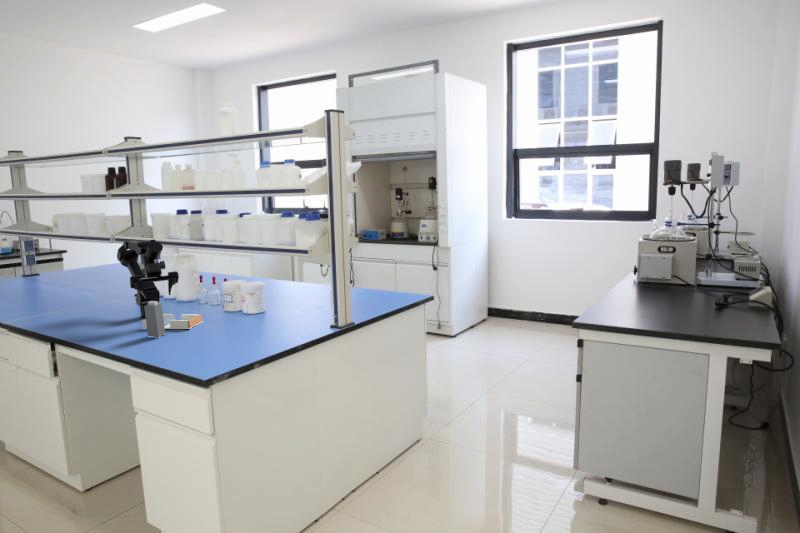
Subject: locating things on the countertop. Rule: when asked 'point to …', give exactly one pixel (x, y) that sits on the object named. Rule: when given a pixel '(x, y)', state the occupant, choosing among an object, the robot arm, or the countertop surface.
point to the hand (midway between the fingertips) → (158, 296)
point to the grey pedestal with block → (154, 319)
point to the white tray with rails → (179, 321)
